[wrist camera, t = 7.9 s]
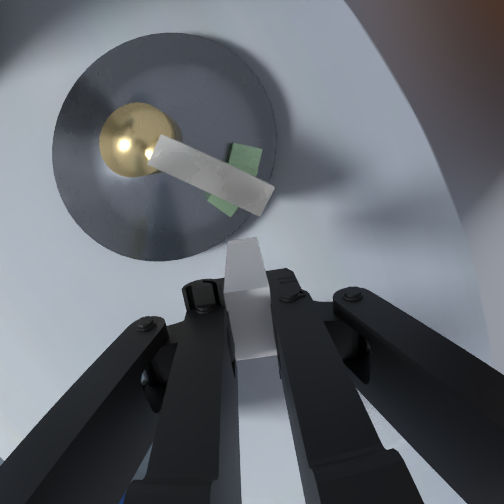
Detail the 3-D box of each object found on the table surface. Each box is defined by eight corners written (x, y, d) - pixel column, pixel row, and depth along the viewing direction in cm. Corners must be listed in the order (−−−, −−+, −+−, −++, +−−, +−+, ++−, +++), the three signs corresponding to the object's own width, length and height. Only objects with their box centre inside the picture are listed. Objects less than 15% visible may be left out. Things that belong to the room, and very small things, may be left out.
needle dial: (112, 160, 21) (83, 161, 16) (138, 103, 20) (114, 90, 15) (247, 222, 22) (249, 238, 18) (276, 165, 21) (286, 165, 17)
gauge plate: (41, 95, 20) (32, 92, 19) (233, 11, 19) (233, 3, 18) (101, 282, 25) (94, 288, 23) (303, 216, 24) (307, 220, 23)
